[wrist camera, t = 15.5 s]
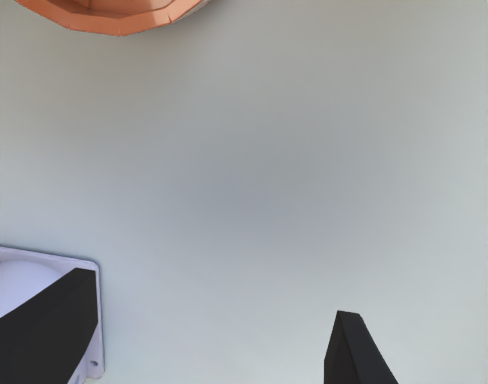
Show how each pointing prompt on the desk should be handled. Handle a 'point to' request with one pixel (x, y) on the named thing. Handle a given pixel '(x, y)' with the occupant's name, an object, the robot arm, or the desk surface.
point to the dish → (114, 14)
